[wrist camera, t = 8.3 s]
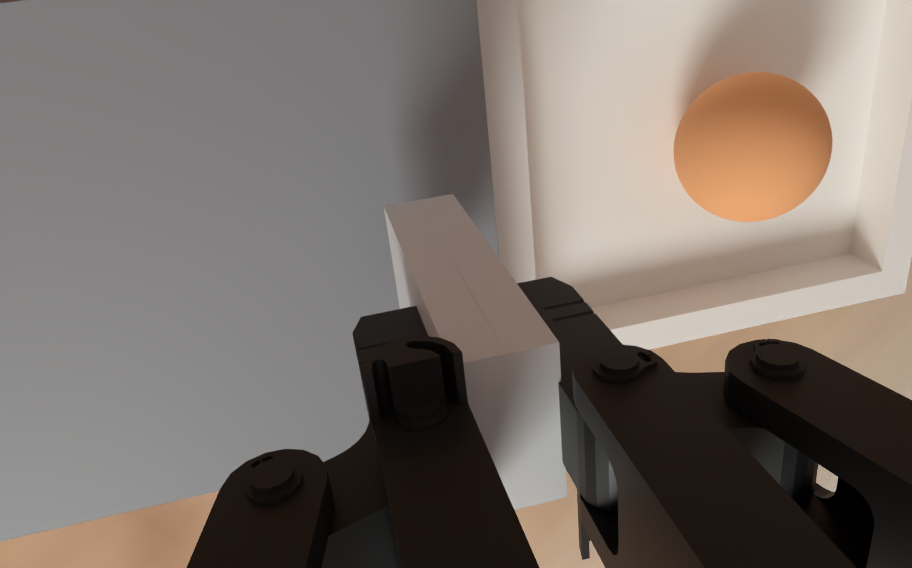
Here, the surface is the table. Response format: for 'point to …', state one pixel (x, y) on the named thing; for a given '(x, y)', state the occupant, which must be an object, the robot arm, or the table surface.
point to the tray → (653, 169)
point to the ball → (752, 146)
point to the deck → (208, 230)
